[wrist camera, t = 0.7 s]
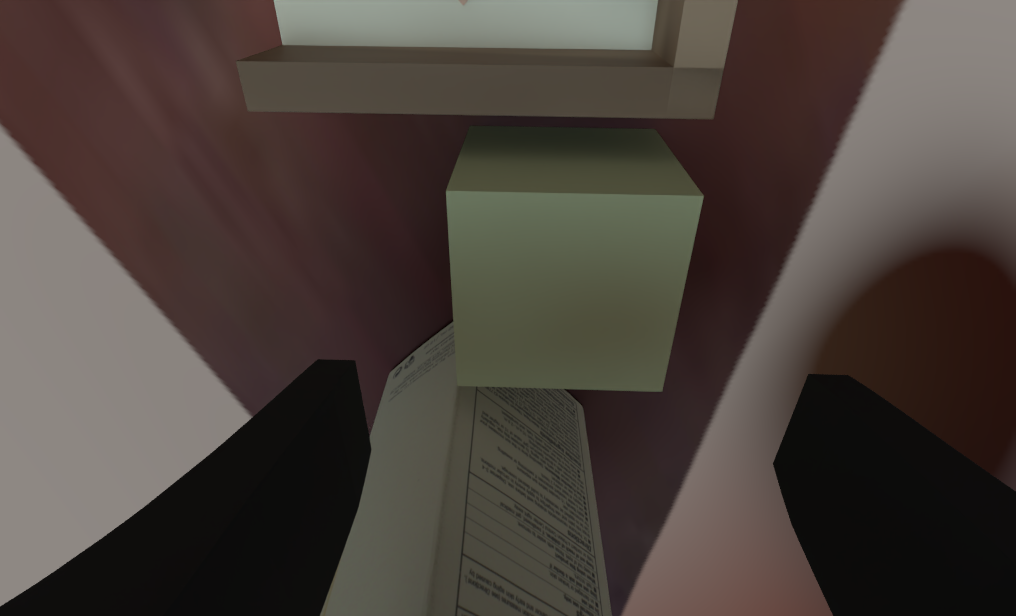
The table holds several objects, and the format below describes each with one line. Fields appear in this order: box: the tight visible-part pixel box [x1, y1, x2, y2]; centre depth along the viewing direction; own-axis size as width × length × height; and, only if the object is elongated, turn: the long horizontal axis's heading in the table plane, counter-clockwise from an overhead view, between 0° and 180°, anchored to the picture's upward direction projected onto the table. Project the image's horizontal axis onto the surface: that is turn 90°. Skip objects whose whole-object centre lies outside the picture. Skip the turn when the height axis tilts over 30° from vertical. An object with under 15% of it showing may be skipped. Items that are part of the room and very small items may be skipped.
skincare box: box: [320, 322, 612, 616], centre depth 15 cm, size 6×4×12 cm
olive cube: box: [446, 126, 704, 392], centre depth 14 cm, size 5×5×5 cm
